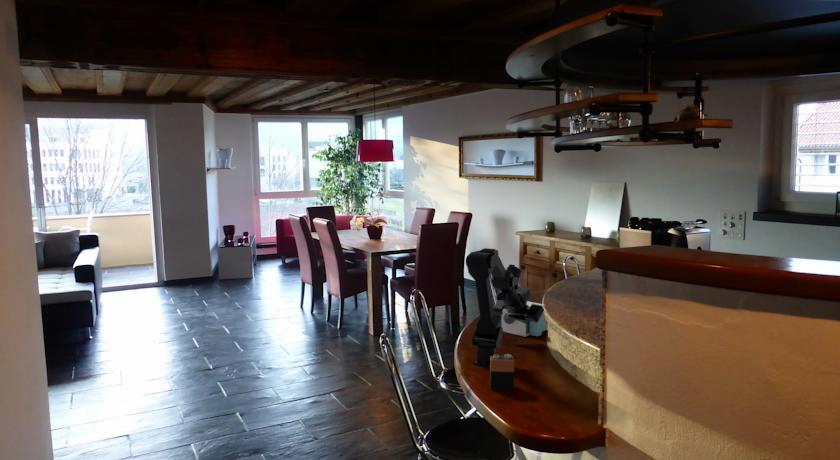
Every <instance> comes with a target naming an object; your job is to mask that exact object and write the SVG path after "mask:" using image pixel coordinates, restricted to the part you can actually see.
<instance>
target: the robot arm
mask: <svg viewBox="0 0 840 460" xmlns="http://www.w3.org/2000/svg"><path fill="white" fill-rule="evenodd" d="M465 265H466V268H467V272H468V274H469V276H470V277H471V278H472V279H473V280H474V283H475V285H474V286H475V290H476V291H475V292H476V298H477V306H478V311H479V313H478V314H479V320H478V321H477V322H476V324H475V328H474V333H473V335H472V338H471V343H472V346H477V347H476V360H474V361H473V364H474V365H478V366H481V367H485V368H488V369H490V356H494V355H495V354H497V349H498V348H500V347H502V343H503V334H504V332H503V328H502V327H501V326H502V324H501V323H502V314H503V312H502V311H503V309H508V310H507V313H509V317H510V318H513V319H515V320H518V321H520V322H522V323H525V324H527V323H528V320H529V321H531V322H538V321H539V319H540V317H541V315H542V313H543V311H544V309H543V307H542V305H536V304H532V305H531V307H529V305H526V304H527V300H528V299H529V298H531V296H532V292H531V288H530V287H529V286H524V285H519V284H520V281H521V280H520V279H521V277H522V272H523V271H522V270H521V269H520V268H519V267H517V266H516V265H515V264H509V265H508V266H507V267H506V268H505V266H504V263H503V262H502V260H501V258H500V256H499V250H498V249H496V248H486V247H484V248H482V249H480V250H476V251H471V252H470V253H469V254H467V255H466V258H465ZM492 288H493V289H494V290H497V296H496V300H497V301H496V303H495V305H494V300H493V293H492Z"/></svg>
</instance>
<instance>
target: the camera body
mask: <svg viewBox="0 0 840 460" xmlns="http://www.w3.org/2000/svg"><path fill="white" fill-rule="evenodd" d="M526 301H527V300H526ZM532 304H536V305H542V307H543V303H539V302H532V301H527V304H526V305H529V307H531V305H532ZM507 310H508V309H503V311H502V312H503V314H502V315H501V324H502V326H501V327H502V328H503V333H508V334H511V335H512V334H513V335H516V336H521V337H525V338H526V337H528V336H530V335H529V333H530V321H529V320H528V323H527V324H525V323H522V322H520V321H518V320H515V319H513V318H510V317H509V313H507Z"/></svg>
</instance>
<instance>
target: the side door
mask: <svg viewBox="0 0 840 460" xmlns="http://www.w3.org/2000/svg"><path fill="white" fill-rule="evenodd" d="M547 330H548V329H547V323H546V320H545V318H544V313H542V315H541V317H540V319H539V321H538V322H531V321H530V333H529V336H534V337H539V336H542V333H543V332H545V331H547Z"/></svg>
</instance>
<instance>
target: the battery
mask: <svg viewBox="0 0 840 460" xmlns="http://www.w3.org/2000/svg"><path fill="white" fill-rule="evenodd" d="M514 382H515V358H514V356H512V354H510V353H506V354H504V355H499V354H497V353H496V354H495V355H494V356H490V368H489V387H490V390H491V391H493V390H494V391H513V390H514V388H515V387H514V386H515V383H514Z"/></svg>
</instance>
